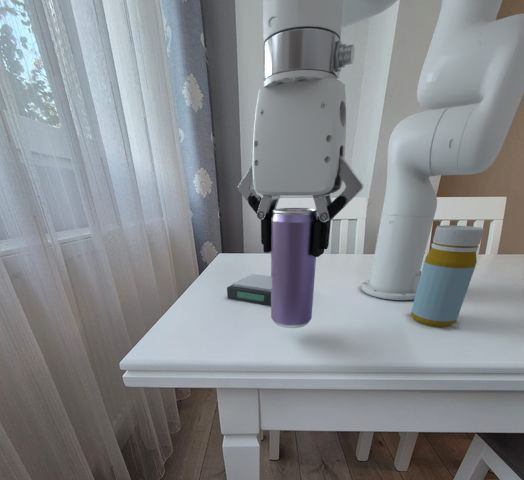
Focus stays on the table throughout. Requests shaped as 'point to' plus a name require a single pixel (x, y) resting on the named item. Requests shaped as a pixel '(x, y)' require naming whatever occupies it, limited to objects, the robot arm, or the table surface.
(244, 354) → the table surface
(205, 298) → the table surface
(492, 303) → the table surface
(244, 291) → the scale
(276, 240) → the beverage can
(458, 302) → the bottle
